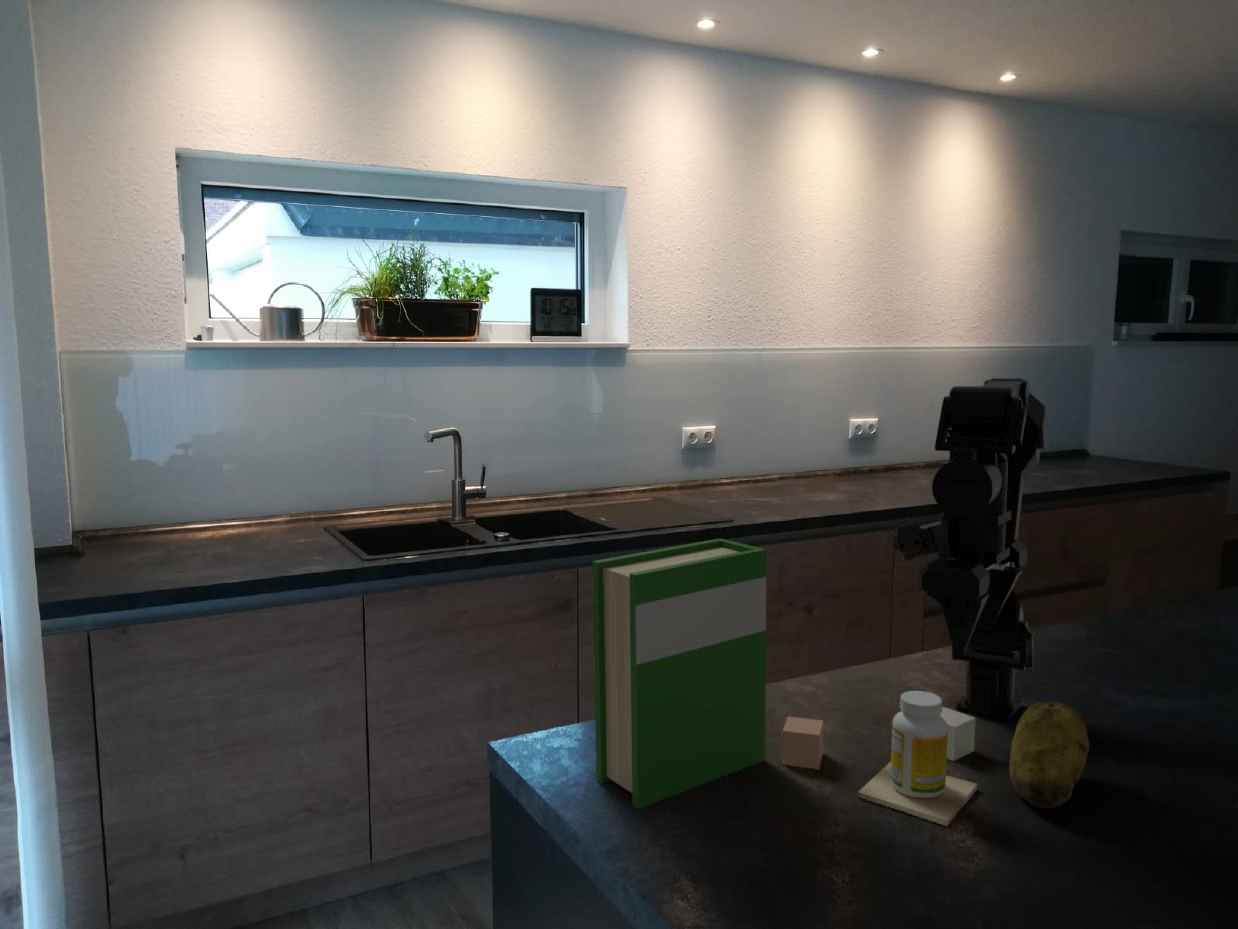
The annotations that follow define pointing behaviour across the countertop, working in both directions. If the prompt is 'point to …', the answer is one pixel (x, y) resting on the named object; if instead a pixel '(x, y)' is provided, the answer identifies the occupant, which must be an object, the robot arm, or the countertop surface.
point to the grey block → (959, 733)
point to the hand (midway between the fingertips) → (972, 640)
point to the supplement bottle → (919, 746)
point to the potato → (1048, 753)
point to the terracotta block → (802, 742)
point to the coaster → (927, 808)
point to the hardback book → (679, 666)
